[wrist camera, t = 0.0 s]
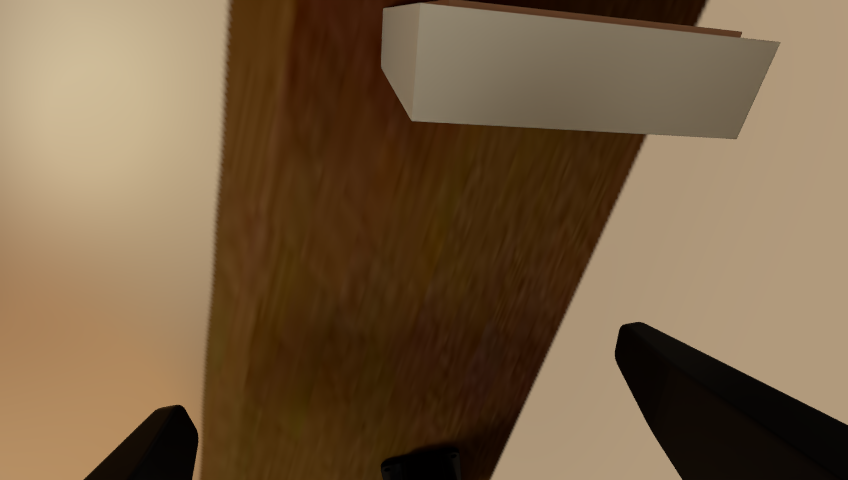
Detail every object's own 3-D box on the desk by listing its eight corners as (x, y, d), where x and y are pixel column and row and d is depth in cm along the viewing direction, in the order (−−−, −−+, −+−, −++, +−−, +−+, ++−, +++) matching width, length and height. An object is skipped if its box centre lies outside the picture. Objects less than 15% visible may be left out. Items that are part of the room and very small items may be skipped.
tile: (559, 81, 21) (737, 139, 11) (381, 67, 19) (411, 120, 10) (572, 24, 19) (783, 35, 10) (383, 4, 18) (421, -6, 8)
